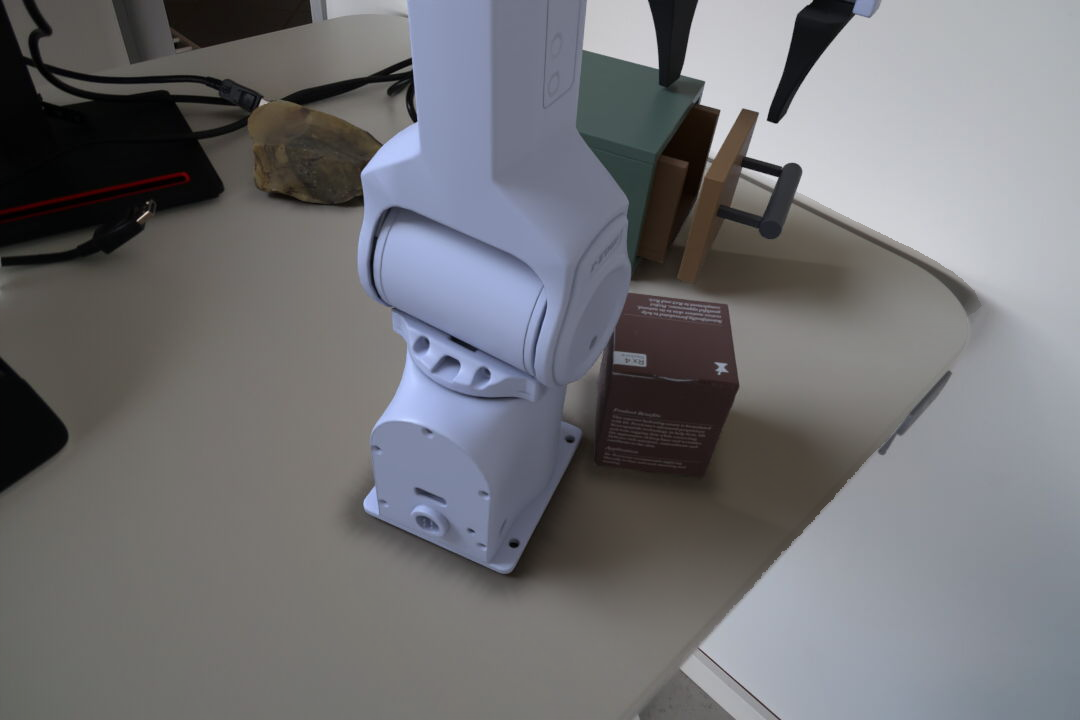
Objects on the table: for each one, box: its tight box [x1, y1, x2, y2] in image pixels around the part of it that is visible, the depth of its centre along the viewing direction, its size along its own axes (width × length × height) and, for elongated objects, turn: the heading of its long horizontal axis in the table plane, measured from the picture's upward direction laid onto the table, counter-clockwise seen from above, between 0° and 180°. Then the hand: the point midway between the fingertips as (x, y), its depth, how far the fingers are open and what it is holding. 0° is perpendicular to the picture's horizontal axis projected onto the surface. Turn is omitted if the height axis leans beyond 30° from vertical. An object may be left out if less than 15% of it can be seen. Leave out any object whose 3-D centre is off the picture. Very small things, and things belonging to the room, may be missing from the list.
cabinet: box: [576, 49, 706, 278], centre depth 52 cm, size 14×12×10 cm
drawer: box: [637, 103, 803, 285], centre depth 51 cm, size 17×10×8 cm, turn 66°
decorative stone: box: [246, 98, 384, 205], centre depth 55 cm, size 10×9×4 cm
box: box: [593, 292, 741, 478], centre depth 38 cm, size 6×6×7 cm
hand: (721, 98), depth 49 cm, fingers open, 7 cm apart
